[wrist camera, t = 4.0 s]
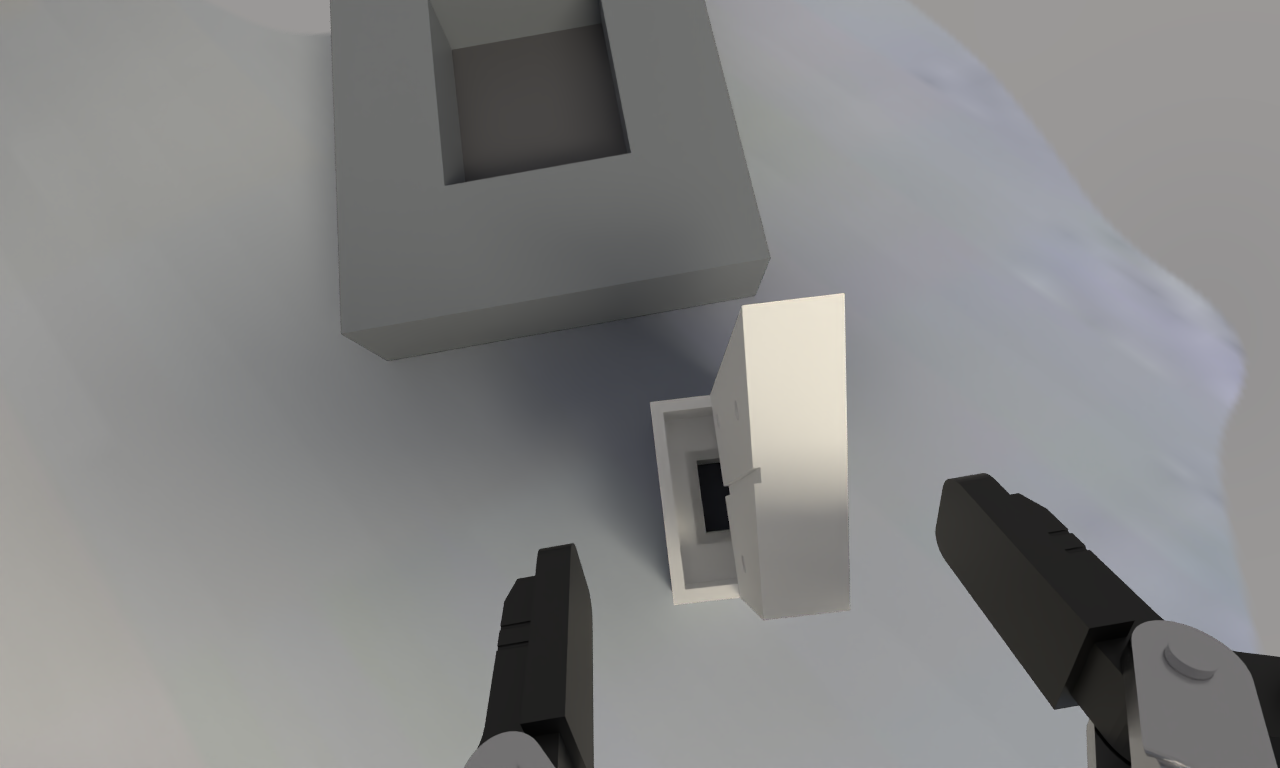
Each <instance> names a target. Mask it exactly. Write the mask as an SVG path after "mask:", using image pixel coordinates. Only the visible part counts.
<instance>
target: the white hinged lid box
mask: <svg viewBox="0 0 1280 768" xmlns="http://www.w3.org/2000/svg"><path fill="white" fill-rule="evenodd" d="M650 408H651V416H652V425H653V433H654V441H655V450H656V458H657V467H658V475H659V483H660V492H661V500H662V509H663V517H664V525H665V534H666V542H667V550H668V559H669V567H670V576H671V584H672V592H673V601H674V605H679V604H688V603H696V602H705V601H714V600H723V599H732V598H741V599H742V600H743V601H744V602H745V603H746V604H747V605H748V606H749V607H750V608H751V609H752V610H754V611H755V612H756V613H757V614H758V615H759V616H760V617H761V618H762V619H763V620H769V619H778V618H787V617H796V616H804V615H813V614H822V613H831V612H840V611H849V610H850V573H849V517H848V460H847V404H846V348H845V293H841V294H833V295H825V296H816V297H808V298H800V299H792V300H783V301H775V302H767V303H759V304H750V305H742V307H741V310H740V312H739V315H738V318H737V321H736V324H735V326H734V329H733V332H732V335H731V338H730V340H729V343H728V346H727V349H726V352H725V354H724V357H723V360H722V363H721V366H720V368H719V371H718V374H717V377H716V380H715V382H714V385H713V388H712V391H711V394H710V395H705V396H697V397H688V398H680V399H671V400H663V401H655V402H650ZM719 462H720V465H721V472H722V479H723V485H724V486H729V492H730V495H728V496H725V499H726V505H727V512H728V519H729V526H730V529H727V530H718V531H710V532H706V527H705V520H704V513H703V505H702V498H701V491H700V484H699V476H698V469H697V465H702V464H711V463H719Z"/></svg>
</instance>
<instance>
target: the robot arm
mask: <svg viewBox="0 0 1280 768" xmlns="http://www.w3.org/2000/svg"><path fill="white" fill-rule="evenodd" d="M936 540H937V544H938V547H939V550H940V552H941V554H942V556H943V558H944V559H945V561H946V562H947V563H948V565H949V566H950V568H951V569H952V570H953V572H954V573H955V574H956V576H957V577H958V578H959V580H960V581H961V583H962V584H963V585H964V587H965V588H966V589H967V591H968V592H969V594H970V595H971V596H972V598H973V599H974V600H975V602H976V603H977V605H978V606H979V607H980V609H981V610H982V611H983V613H984V614H985V615H986V617H987V618H988V620H989V621H990V622H991V624H992V625H993V626H994V628H995V629H996V631H997V632H998V633H999V635H1000V636H1001V637H1002V639H1003V640H1004V642H1005V643H1006V644H1007V646H1008V647H1009V648H1010V650H1011V651H1012V652H1013V654H1014V655H1015V657H1016V658H1017V659H1018V661H1019V662H1020V663H1021V665H1022V666H1023V668H1024V669H1025V670H1026V672H1027V673H1028V674H1029V676H1030V677H1031V679H1032V680H1033V681H1034V683H1035V684H1036V685H1037V687H1038V688H1039V689H1040V691H1041V692H1042V694H1043V695H1044V696H1045V698H1046V699H1047V700H1048V702H1049V703H1050V705H1051V706H1052V707H1053V709H1054V710H1055V709H1061V708H1067V707H1073V706H1078V705H1079V706H1080V707H1081V708H1082V710H1083V711H1084V712H1085V714H1086V715H1087V716H1088V717H1089V721H1088V724H1087V729H1086V734H1087V762H1088V768H1280V657H1275V656H1268V655H1259V654H1251V653H1243V652H1236V651H1232V650H1230V649H1229V648H1228V647H1227V646H1225V645H1224V644H1223V643H1221V642H1220V641H1218V640H1217V639H1215V638H1213V637H1212V636H1210V635H1208V634H1206V633H1204V632H1202V631H1200V630H1198V629H1195V628H1193V627H1190V626H1187V625H1184V624H1180V623H1176V622H1172V621H1165V620H1163V619H1162V618H1161V617H1160V616H1159V615H1158V614H1156V613H1155V612H1154V611H1153V610H1152V609H1151V608H1150V607H1149V606H1148V605H1147V604H1146V603H1145V602H1144V601H1143V600H1142V599H1141V598H1140V597H1139V596H1137V595H1136V594H1135V593H1134V592H1133V591H1132V590H1131V589H1130V588H1129V587H1128V586H1127V585H1126V584H1125V583H1124V582H1123V581H1122V580H1121V579H1120V578H1119V577H1118V576H1117V575H1115V574H1114V573H1113V572H1112V571H1111V570H1110V569H1109V568H1108V567H1107V566H1106V565H1105V564H1104V563H1103V562H1102V561H1101V560H1100V559H1099V558H1098V557H1097V556H1096V555H1095V554H1094V553H1092V552H1091V551H1090V550H1087V549H1086V548H1085V545H1084V544H1083V543H1082V542H1081V541H1080V540H1079V539H1078V538H1077V537H1076V536H1075V535H1074V534H1073V533H1069V532H1068V529H1067V528H1066V527H1065V526H1064V525H1063V524H1062V523H1061V522H1060V521H1059V520H1058V519H1057V518H1056V517H1055V516H1054V515H1053V514H1052V513H1051V512H1050V511H1048V510H1047V509H1046V508H1044V507H1043V506H1041V505H1039V504H1037V503H1035V502H1034V501H1032V500H1030V499H1028V498H1026V497H1025V496H1023V495H1021V494H1019V493H1017V494H1011V495H1010V494H1009V493H1008V492H1007V491H1006V490H1005V489H1004V488H1003V487H1002V486H1001V485H1000V484H999V483H998V482H997V481H996V480H995V479H994V478H993V477H991V476H990V475H988V474H986V473H981V474H975V475H970V476H964V477H958V478H952V479H948V480H946V481H945V483H944V485H943V490H942V495H941V501H940V507H939V513H938V518H937V524H936ZM497 646H498V651H497V652H496V658H495V665H494V671H493V677H492V684H491V690H490V696H489V703H488V709H487V716H486V722H485V728H484V732H483V736H482V739H481V741H480V744H479V746H478V748H477V750H476V751H475V752H474V753H473V755H472V756H471V757H470V758H469V760H468V762H467V763H466V765H465V767H464V768H594V746H593V630H592V607H591V599H590V594H589V589H588V586H587V582H586V579H585V576H584V573H583V569H582V566H581V563H580V559H579V556H578V553H577V550H576V547H575V545H574V543H572V544H566V545H560V546H554V547H549V548H543V549H540V550H539V551H538V556H537V565H536V574H535V576H531V577H526V578H520V579H517V581H516V582H515V584H514V586H513V587H512V589H511V591H510V593H509V594H508V596H507V598H506V600H505V601H504V607H503V613H502V620H501V631H500V633H499V639H498V645H497Z"/></svg>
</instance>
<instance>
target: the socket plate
mask: <svg viewBox="0 0 1280 768" xmlns="http://www.w3.org/2000/svg"><path fill="white" fill-rule="evenodd" d="M330 10H331V11H330V13H331V43H332V74H333V104H334V134H335V164H336V195H337V225H338V255H339V285H340V316H341V334H342V335H344V336H346V337H347V338H349V339H351V340H353V341H354V342H356V343H358V344H359V345H361V346H363V347H364V348H366V349H368V350H370V351H371V352H373V353H375V354H376V355H378V356H380V357H382V358H383V359H385V360H387V361H389V360H395V359H401V358H406V357H412V356H418V355H423V354H429V353H434V352H440V351H446V350H451V349H457V348H463V347H468V346H474V345H479V344H485V343H491V342H496V341H502V340H508V339H513V338H519V337H525V336H530V335H536V334H541V333H547V332H553V331H558V330H564V329H570V328H575V327H581V326H587V325H592V324H598V323H603V322H609V321H615V320H620V319H626V318H632V317H637V316H643V315H649V314H654V313H660V312H665V311H671V310H677V309H682V308H688V307H694V306H699V305H705V304H711V303H716V302H722V301H727V300H733V299H739V298H744V297H750V296H755V295H756V293H757V290H758V288H759V285H760V283H761V280H762V278H763V275H764V273H765V270H766V268H767V265H768V263H769V260H770V258H771V257H770V253H769V249H768V245H767V242H766V238H765V234H764V230H763V226H762V222H761V218H760V214H759V211H758V207H757V203H756V199H755V195H754V191H753V187H752V183H751V179H750V176H749V172H748V168H747V164H746V160H745V156H744V152H743V148H742V144H741V141H740V137H739V133H738V129H737V125H736V121H735V117H734V113H733V109H732V106H731V102H730V98H729V94H728V90H727V86H726V82H725V78H724V74H723V71H722V67H721V63H720V59H719V55H718V51H717V47H716V43H715V39H714V36H713V32H712V28H711V24H710V20H709V16H708V12H707V8H706V4H705V1H704V0H330Z"/></svg>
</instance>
